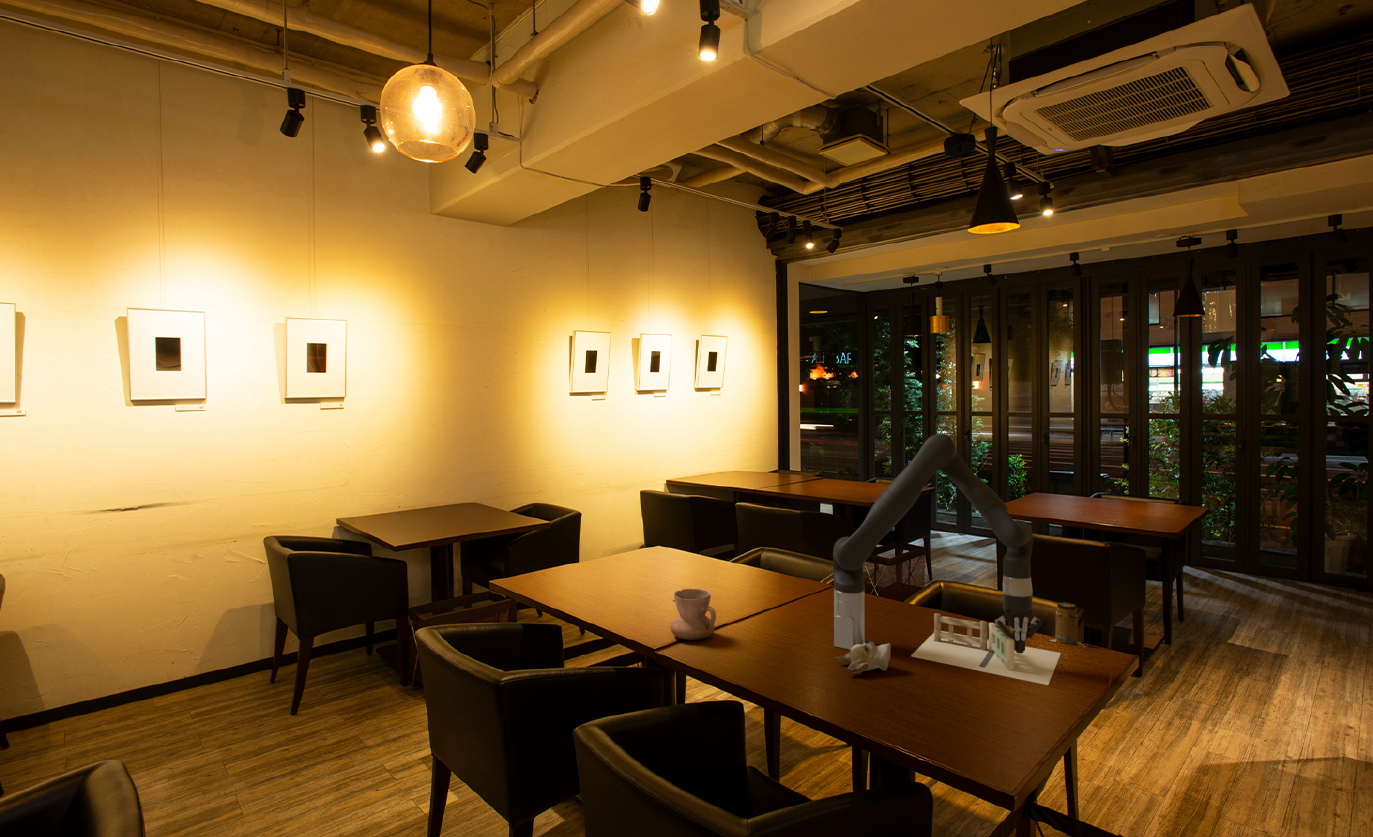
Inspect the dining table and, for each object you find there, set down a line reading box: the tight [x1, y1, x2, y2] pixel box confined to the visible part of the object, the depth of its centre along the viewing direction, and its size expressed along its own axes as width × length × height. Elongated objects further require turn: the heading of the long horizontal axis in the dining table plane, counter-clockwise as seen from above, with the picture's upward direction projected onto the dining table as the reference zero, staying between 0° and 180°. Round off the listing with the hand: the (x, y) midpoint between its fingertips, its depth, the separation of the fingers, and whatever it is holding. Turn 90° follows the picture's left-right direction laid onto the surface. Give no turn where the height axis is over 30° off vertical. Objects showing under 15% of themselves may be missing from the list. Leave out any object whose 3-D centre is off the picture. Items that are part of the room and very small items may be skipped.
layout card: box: [910, 630, 1061, 686], centre depth 197 cm, size 28×36×1 cm
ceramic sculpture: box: [834, 639, 892, 674], centre depth 187 cm, size 11×9×15 cm
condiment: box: [1048, 602, 1088, 648], centre depth 207 cm, size 7×8×12 cm
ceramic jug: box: [669, 588, 717, 641], centre depth 214 cm, size 18×14×14 cm
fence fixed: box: [933, 612, 988, 651], centre depth 205 cm, size 16×2×8 cm, turn 55°
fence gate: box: [988, 622, 1014, 670], centre depth 193 cm, size 16×2×8 cm, turn 174°
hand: (1019, 652), depth 189 cm, fingers closed
